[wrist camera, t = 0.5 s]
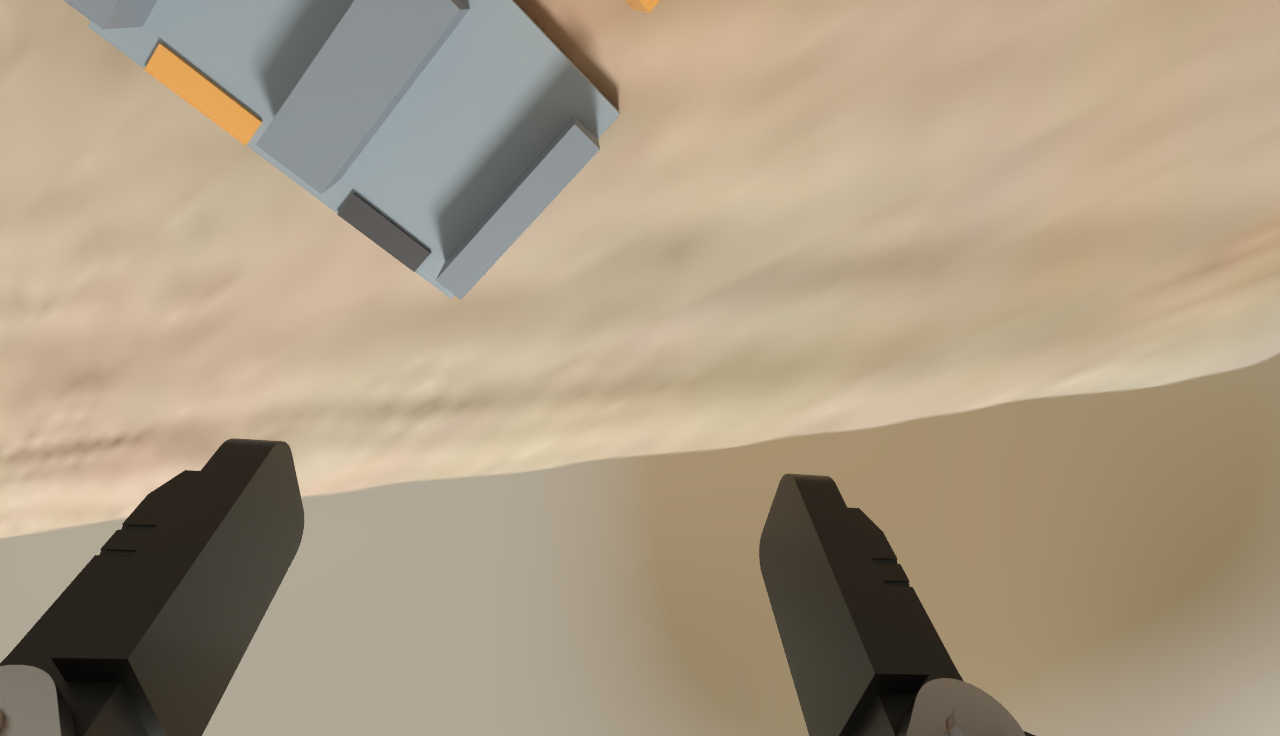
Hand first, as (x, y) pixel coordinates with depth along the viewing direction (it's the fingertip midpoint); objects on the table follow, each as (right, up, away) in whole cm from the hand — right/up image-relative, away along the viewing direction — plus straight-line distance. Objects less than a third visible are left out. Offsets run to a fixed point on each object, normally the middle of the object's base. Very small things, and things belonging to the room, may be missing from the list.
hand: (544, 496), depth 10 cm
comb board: (-10, +16, +17) cm, 26 cm away
